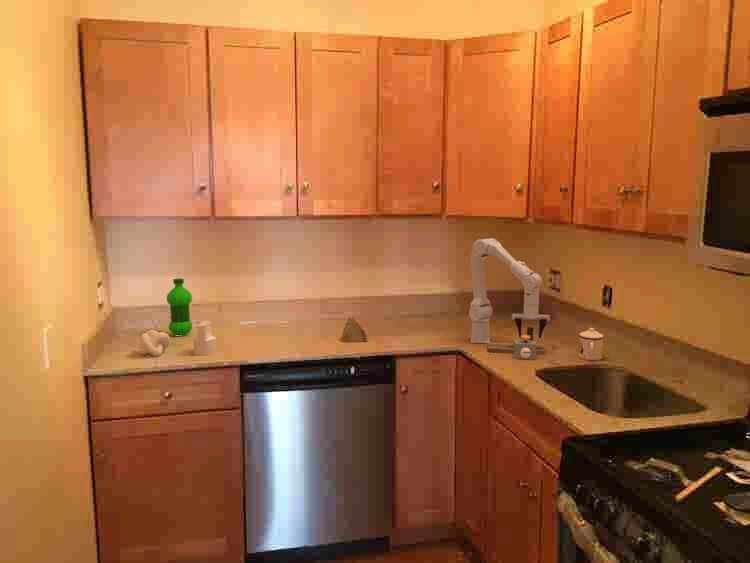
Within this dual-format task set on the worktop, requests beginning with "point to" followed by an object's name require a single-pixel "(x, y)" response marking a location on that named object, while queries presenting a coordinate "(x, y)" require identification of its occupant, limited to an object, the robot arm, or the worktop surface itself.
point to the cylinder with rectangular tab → (205, 340)
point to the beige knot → (153, 343)
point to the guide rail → (506, 345)
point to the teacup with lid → (591, 345)
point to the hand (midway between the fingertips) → (529, 337)
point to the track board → (510, 349)
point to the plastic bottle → (179, 308)
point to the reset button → (525, 338)
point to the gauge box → (525, 349)
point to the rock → (353, 332)
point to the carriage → (531, 335)
